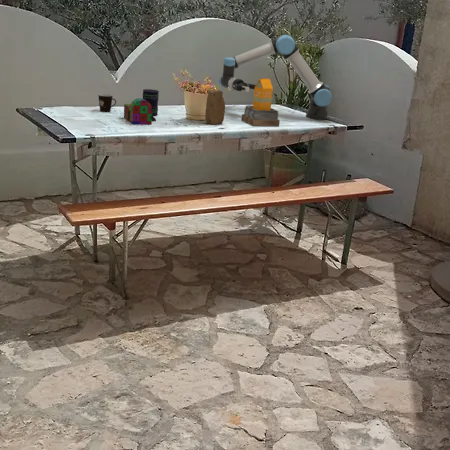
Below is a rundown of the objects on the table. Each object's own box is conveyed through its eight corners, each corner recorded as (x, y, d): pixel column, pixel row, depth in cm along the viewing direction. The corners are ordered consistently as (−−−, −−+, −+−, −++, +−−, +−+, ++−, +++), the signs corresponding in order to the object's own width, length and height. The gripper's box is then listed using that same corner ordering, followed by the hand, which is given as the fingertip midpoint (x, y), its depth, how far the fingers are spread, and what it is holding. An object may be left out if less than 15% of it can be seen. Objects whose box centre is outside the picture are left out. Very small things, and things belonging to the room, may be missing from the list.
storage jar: (138, 114, 373) (139, 89, 368) (149, 112, 380) (150, 88, 375) (150, 116, 367) (151, 92, 362) (161, 115, 375) (162, 91, 370)
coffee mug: (95, 110, 372) (95, 94, 368) (108, 109, 377) (108, 93, 373) (104, 113, 363) (104, 97, 360) (116, 113, 368) (117, 97, 365)
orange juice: (270, 111, 377) (274, 79, 370) (260, 112, 371) (264, 79, 364) (261, 109, 382) (265, 77, 375) (252, 109, 377) (255, 77, 370)
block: (208, 124, 360) (211, 91, 353) (203, 122, 367) (206, 89, 360) (224, 124, 365) (227, 91, 358) (219, 122, 371) (222, 89, 364)
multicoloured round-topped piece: (160, 125, 348) (161, 100, 343) (132, 124, 342) (132, 99, 337) (148, 116, 369) (149, 93, 365) (121, 116, 363) (122, 92, 358)
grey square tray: (241, 120, 384) (243, 105, 381) (266, 120, 391) (268, 106, 387) (252, 126, 369) (254, 110, 365) (278, 126, 375) (280, 111, 372)
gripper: (250, 89, 401) (271, 95, 385) (220, 90, 386) (241, 96, 371) (251, 78, 398) (272, 83, 383) (221, 78, 384) (242, 83, 368)
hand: (257, 89), depth 377 cm, fingers open, 13 cm apart
